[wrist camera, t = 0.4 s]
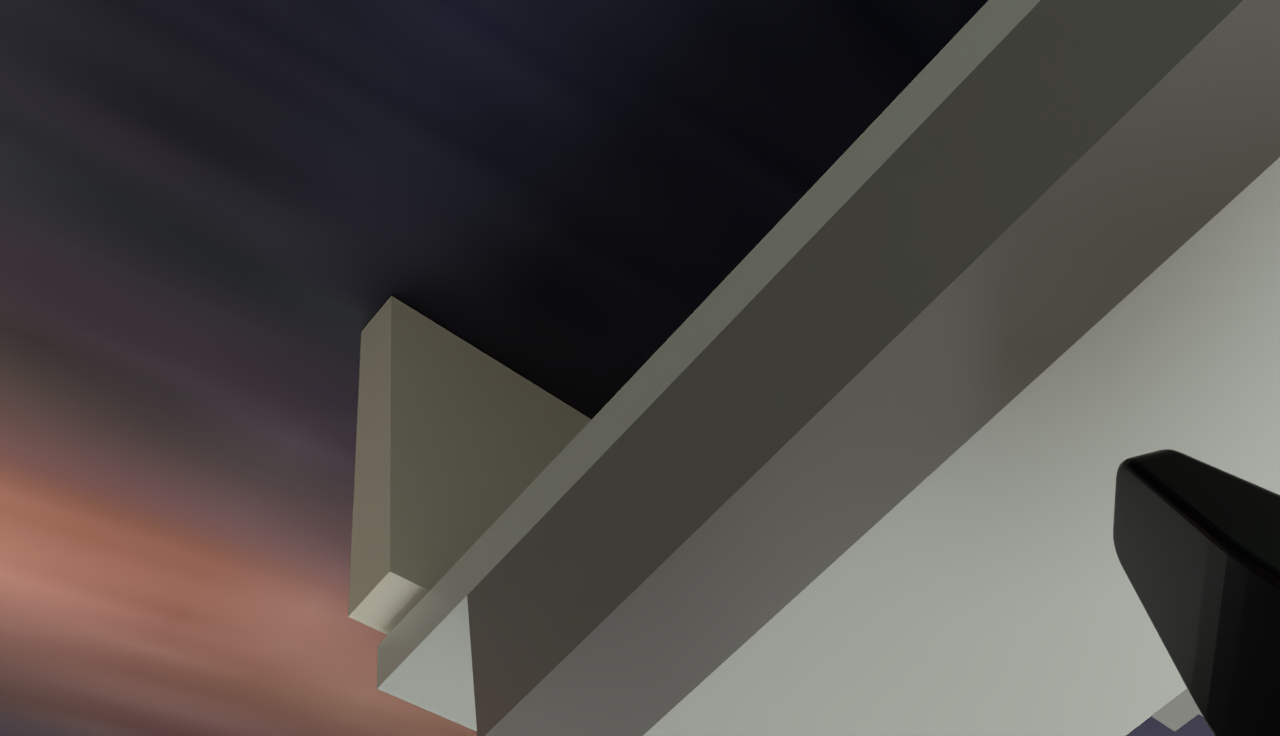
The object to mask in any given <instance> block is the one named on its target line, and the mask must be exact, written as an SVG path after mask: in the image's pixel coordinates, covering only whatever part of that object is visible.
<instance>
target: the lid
mask: <svg viewBox="0 0 1280 736" xmlns="http://www.w3.org/2000/svg"><path fill="white" fill-rule="evenodd" d="M1164 449H1171V450H1175V451H1178V452H1181V453H1183V454H1186V455H1188V456H1190V457H1193V458H1195V459H1197V460H1200V461H1202V462H1204V463H1207V464H1209V465H1211V466H1214V467H1216V468H1218V469H1221V470H1223V471H1225V472H1228V473H1230V474H1232V475H1235V476H1237V477H1239V478H1242V479H1244V480H1246V481H1249V482H1251V483H1253V484H1256V485H1258V486H1260V487H1262V488H1265V489H1267V490H1269V491H1272V492H1274V493H1276V494H1279V495H1280V0H988V1H987V2H986V3H985V5H984V6H983V7H982V8H981V9H980V10H979V11H978V12H977V13H976V14H975V15H974V16H973V17H972V18H971V19H970V20H969V21H968V22H967V24H966V25H965V26H964V27H963V28H962V29H961V30H960V31H959V32H958V33H957V34H956V35H955V36H954V37H953V38H952V39H951V40H950V42H949V43H948V44H947V45H946V46H945V47H944V48H943V49H942V50H941V51H940V52H939V53H938V54H937V55H936V56H935V57H934V58H933V59H932V61H931V62H930V63H929V64H928V65H927V66H926V67H925V68H924V69H923V70H922V71H921V72H920V73H919V74H918V75H917V76H916V77H915V78H914V80H913V81H912V82H911V83H910V84H909V85H908V86H907V87H906V88H905V89H904V90H903V91H902V92H901V93H900V94H899V95H898V96H897V98H896V99H895V100H894V101H893V102H892V103H891V104H890V105H889V106H888V107H887V108H886V109H885V110H884V111H883V112H882V113H881V114H880V115H879V117H878V118H877V119H876V120H875V121H874V122H873V123H872V124H871V125H870V126H869V127H868V128H867V129H866V130H865V131H864V132H863V133H862V134H861V136H860V137H859V138H858V139H857V140H856V141H855V142H854V143H853V144H852V145H851V146H850V147H849V148H848V149H847V150H846V151H845V152H844V154H843V155H842V156H841V157H840V158H839V159H838V160H837V161H836V162H835V163H834V164H833V165H832V166H831V167H830V168H829V169H828V170H827V171H826V173H825V174H824V175H823V176H822V177H821V178H820V179H819V180H818V181H817V182H816V183H815V184H814V185H813V186H812V187H811V188H810V189H809V190H808V192H807V193H806V194H805V195H804V196H803V197H802V198H801V199H800V200H799V201H798V202H797V203H796V204H795V205H794V206H793V207H792V208H791V210H790V211H789V212H788V213H787V214H786V215H785V216H784V217H783V218H782V219H781V220H780V221H779V222H778V223H777V224H776V225H775V226H774V227H773V229H772V230H771V231H770V232H769V233H768V234H767V235H766V236H765V237H764V238H763V239H762V240H761V241H760V242H759V243H758V244H757V245H756V247H755V248H754V249H753V250H752V251H751V252H750V253H749V254H748V255H747V256H746V257H745V258H744V259H743V260H742V261H741V262H740V263H739V264H738V266H737V267H736V268H735V269H734V270H733V271H732V272H731V273H730V274H729V275H728V276H727V277H726V278H725V279H724V280H723V281H722V282H721V283H720V285H719V286H718V287H717V288H716V289H715V290H714V291H713V292H712V293H711V294H710V295H709V296H708V297H707V298H706V299H705V300H704V301H703V303H702V304H701V305H700V306H699V307H698V308H697V309H696V310H695V311H694V312H693V313H692V314H691V315H690V316H689V317H688V318H687V319H686V320H685V322H684V323H683V324H682V325H681V326H680V327H679V328H678V329H677V330H676V331H675V332H674V333H673V334H672V335H671V336H670V337H669V338H668V339H667V341H666V342H665V343H664V344H663V345H662V346H661V347H660V348H659V349H658V350H657V351H656V352H655V353H654V354H653V355H652V356H651V357H650V359H649V360H648V361H647V362H646V363H645V364H644V365H643V366H642V367H641V368H640V369H639V370H638V371H637V372H636V373H635V374H634V375H633V376H632V378H631V379H630V380H629V381H628V382H627V383H626V384H625V385H624V386H623V387H622V388H621V389H620V390H619V391H618V392H617V393H616V394H615V395H614V397H613V398H612V399H611V400H610V401H609V402H608V403H607V404H606V405H605V406H604V407H603V408H602V409H601V410H600V411H599V412H598V413H597V415H596V416H595V417H594V418H593V419H592V420H591V421H590V422H589V423H588V424H587V425H586V426H585V427H584V428H583V429H582V430H581V431H580V432H579V434H578V435H577V436H576V437H575V438H574V439H573V440H572V441H571V442H570V443H569V444H568V445H567V446H566V447H565V448H564V449H563V450H562V451H561V453H560V454H559V455H558V456H557V457H556V458H555V459H554V460H553V461H552V462H551V463H550V464H549V465H548V466H547V467H546V468H545V469H544V471H543V472H542V473H541V474H540V475H539V476H538V477H537V478H536V479H535V480H534V481H533V482H532V483H531V484H530V485H529V486H528V487H527V488H526V490H525V491H524V492H523V493H522V494H521V495H520V496H519V497H518V498H517V499H516V500H515V501H514V502H513V503H512V504H511V505H510V506H509V507H508V509H507V510H506V511H505V512H504V513H503V514H502V515H501V516H500V517H499V518H498V519H497V520H496V521H495V522H494V523H493V524H492V525H491V527H490V528H489V529H488V530H487V531H486V532H485V533H484V534H483V535H482V536H481V537H480V538H479V539H478V540H477V541H476V542H475V543H474V544H473V546H472V547H471V548H470V549H469V550H468V551H467V552H466V553H465V554H464V555H463V556H462V557H461V558H460V559H459V560H458V561H457V562H456V563H455V565H454V566H453V567H452V568H451V569H450V570H449V571H448V572H447V573H446V574H445V575H444V576H443V577H442V578H441V579H440V580H439V581H438V583H437V584H436V585H435V586H434V587H433V588H432V589H431V590H430V591H429V592H428V593H427V594H426V595H425V596H424V597H423V598H422V599H421V600H420V602H419V603H418V604H417V605H416V606H415V607H414V608H413V609H412V610H411V611H410V612H409V613H408V614H407V615H406V616H405V617H404V618H403V620H402V621H401V622H400V623H399V624H398V625H397V626H396V627H395V628H394V629H393V630H392V631H391V632H390V633H389V634H388V635H387V636H386V637H385V639H384V640H383V641H382V642H381V643H380V644H379V645H378V660H377V689H379V690H381V691H383V692H386V693H388V694H390V695H393V696H395V697H397V698H400V699H402V700H404V701H407V702H409V703H411V704H414V705H416V706H418V707H421V708H423V709H425V710H428V711H430V712H432V713H435V714H437V715H439V716H442V717H444V718H446V719H449V720H451V721H453V722H456V723H458V724H460V725H463V726H465V727H467V728H470V729H472V730H474V731H477V736H1125V735H1126V734H1128V733H1129V732H1130V731H1132V730H1133V729H1134V728H1136V727H1137V726H1138V725H1140V724H1141V723H1142V722H1144V721H1145V720H1146V719H1148V718H1149V717H1150V716H1151V715H1153V714H1154V713H1155V712H1157V711H1158V710H1159V709H1161V708H1162V707H1163V706H1165V705H1166V704H1167V703H1169V702H1170V701H1171V700H1172V699H1174V698H1175V697H1176V696H1178V695H1179V694H1180V693H1182V692H1183V691H1184V690H1186V689H1187V687H1186V685H1185V683H1184V682H1183V680H1182V678H1181V676H1180V674H1179V672H1178V670H1177V668H1176V667H1175V665H1174V663H1173V661H1172V659H1171V657H1170V655H1169V654H1168V652H1167V650H1166V648H1165V646H1164V644H1163V642H1162V640H1161V639H1160V637H1159V635H1158V633H1157V631H1156V629H1155V627H1154V625H1153V624H1152V622H1151V620H1150V618H1149V616H1148V614H1147V612H1146V611H1145V609H1144V607H1143V605H1142V603H1141V601H1140V599H1139V597H1138V596H1137V594H1136V592H1135V590H1134V588H1133V586H1132V584H1131V582H1130V581H1129V579H1128V577H1127V575H1126V573H1125V571H1124V569H1123V567H1122V566H1121V563H1120V561H1119V559H1118V556H1117V554H1116V550H1115V546H1114V541H1113V521H1114V504H1115V486H1116V474H1117V469H1118V467H1119V465H1120V464H1121V463H1122V462H1123V461H1124V460H1126V459H1128V458H1131V457H1135V456H1139V455H1143V454H1146V453H1150V452H1154V451H1158V450H1164Z"/></svg>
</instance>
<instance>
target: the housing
mask: <svg viewBox="0 0 1280 736" xmlns="http://www.w3.org/2000/svg"><path fill="white" fill-rule="evenodd" d="M591 420H592V419H590V418H588V417H587V416H585V415H584V414H582V413H580V412H579V411H577V410H575V409H574V408H572V407H571V406H569V405H567V404H566V403H564V402H563V401H561V400H559V399H558V398H556V397H554V396H553V395H551V394H550V393H548V392H546V391H545V390H543V389H542V388H540V387H538V386H537V385H535V384H533V383H532V382H530V381H529V380H527V379H525V378H524V377H522V376H520V375H519V374H517V373H516V372H514V371H512V370H511V369H509V368H508V367H506V366H504V365H503V364H501V363H499V362H498V361H496V360H495V359H493V358H491V357H490V356H488V355H487V354H485V353H483V352H482V351H480V350H478V349H477V348H475V347H474V346H472V345H470V344H469V343H467V342H466V341H464V340H462V339H461V338H459V337H457V336H456V335H454V334H453V333H451V332H449V331H448V330H446V329H444V328H443V327H441V326H440V325H438V324H436V323H435V322H433V321H432V320H430V319H428V318H427V317H425V316H423V315H422V314H420V313H419V312H417V311H415V310H414V309H412V308H411V307H409V306H407V305H406V304H404V303H402V302H401V301H399V300H398V299H396V298H394V297H393V296H391V297H390V298H389V299H388V300H387V301H386V303H385V304H384V305H383V306H382V307H381V309H380V310H379V311H378V312H377V314H376V315H375V316H374V317H373V318H372V320H371V321H370V322H369V323H368V324H367V326H366V327H365V328H364V329H363V330H362V332H361V350H360V372H359V393H358V415H357V436H356V458H355V480H354V501H353V523H352V544H351V566H350V588H349V609H348V617H350V618H352V619H354V620H356V621H359V622H361V623H363V624H365V625H367V626H370V627H372V628H374V629H376V630H378V631H380V632H383V633H385V634H387V635H388V634H389V633H390V632H391V631H392V630H393V629H394V628H395V627H396V626H397V625H398V624H399V623H400V622H401V621H402V620H403V618H404V617H405V616H406V615H407V614H408V613H409V612H410V611H411V610H412V609H413V608H414V607H415V606H416V605H417V604H418V603H419V602H420V600H421V599H422V598H423V597H424V596H425V595H426V594H427V593H428V592H429V591H430V590H431V589H432V588H433V587H434V586H435V585H436V584H437V583H438V581H439V580H440V579H441V578H442V577H443V576H444V575H445V574H446V573H447V572H448V571H449V570H450V569H451V568H452V567H453V566H454V565H455V563H456V562H457V561H458V560H459V559H460V558H461V557H462V556H463V555H464V554H465V553H466V552H467V551H468V550H469V549H470V548H471V547H472V546H473V544H474V543H475V542H476V541H477V540H478V539H479V538H480V537H481V536H482V535H483V534H484V533H485V532H486V531H487V530H488V529H489V528H490V527H491V525H492V524H493V523H494V522H495V521H496V520H497V519H498V518H499V517H500V516H501V515H502V514H503V513H504V512H505V511H506V510H507V509H508V507H509V506H510V505H511V504H512V503H513V502H514V501H515V500H516V499H517V498H518V497H519V496H520V495H521V494H522V493H523V492H524V491H525V490H526V488H527V487H528V486H529V485H530V484H531V483H532V482H533V481H534V480H535V479H536V478H537V477H538V476H539V475H540V474H541V473H542V472H543V471H544V469H545V468H546V467H547V466H548V465H549V464H550V463H551V462H552V461H553V460H554V459H555V458H556V457H557V456H558V455H559V454H560V453H561V451H562V450H563V449H564V448H565V447H566V446H567V445H568V444H569V443H570V442H571V441H572V440H573V439H574V438H575V437H576V436H577V435H578V434H579V432H580V431H581V430H582V429H583V428H584V427H585V426H586V425H587V424H588V423H589V422H590V421H591ZM1198 714H1200V715H1201V716H1202V714H1201V712H1200V710H1199V709H1198V707H1197V705H1196V703H1195V702H1194V700H1193V698H1192V696H1191V695H1190V693H1189V691H1188V689H1186V690H1184V691H1183V692H1182V693H1180V694H1179V695H1178V696H1176V697H1175V698H1174V699H1172V700H1171V701H1170V702H1169V703H1167V704H1166V705H1165V706H1163V707H1162V708H1161V709H1159V710H1158V711H1157V712H1155V713H1154V714H1153V715H1151V716H1152V717H1153V718H1155V719H1156V720H1158V721H1160V722H1161V723H1163V724H1164V725H1166V726H1167V727H1169V728H1170V729H1172V730H1173V731H1176V730H1178V729H1179V728H1180V727H1182V726H1183V725H1184V724H1186V723H1187V722H1188V721H1190V720H1191V719H1192V718H1194V717H1195V716H1196V715H1198ZM1146 720H1147V719H1146ZM1142 723H1143V722H1142ZM1138 726H1139V725H1138ZM1134 729H1135V728H1134ZM1130 732H1131V731H1130ZM1126 735H1127V734H1126ZM1126 735H1125V736H1126Z"/></svg>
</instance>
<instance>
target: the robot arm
mask: <svg viewBox="0 0 1280 736" xmlns="http://www.w3.org/2000/svg"><path fill="white" fill-rule="evenodd" d="M1113 541H1114V546H1115V550H1116V554H1117V556H1118V559H1119V561H1120V563H1121V566H1122V567H1123V569H1124V571H1125V573H1126V575H1127V577H1128V579H1129V581H1130V582H1131V584H1132V586H1133V588H1134V590H1135V592H1136V594H1137V596H1138V597H1139V599H1140V601H1141V603H1142V605H1143V607H1144V609H1145V611H1146V612H1147V614H1148V616H1149V618H1150V620H1151V622H1152V624H1153V625H1154V627H1155V629H1156V631H1157V633H1158V635H1159V637H1160V639H1161V640H1162V642H1163V644H1164V646H1165V648H1166V650H1167V652H1168V654H1169V655H1170V657H1171V659H1172V661H1173V663H1174V665H1175V667H1176V668H1177V670H1178V672H1179V674H1180V676H1181V678H1182V680H1183V682H1184V683H1185V685H1186V687H1187V689H1188V691H1189V693H1190V695H1191V696H1192V698H1193V700H1194V702H1195V703H1196V705H1197V707H1198V709H1199V710H1200V712H1201V714H1202V716H1203V718H1204V719H1205V721H1206V723H1207V724H1208V726H1209V727H1210V729H1211V730H1212V732H1213V733H1214V735H1215V736H1280V495H1279V494H1276V493H1274V492H1272V491H1269V490H1267V489H1265V488H1262V487H1260V486H1258V485H1256V484H1253V483H1251V482H1249V481H1246V480H1244V479H1242V478H1239V477H1237V476H1235V475H1232V474H1230V473H1228V472H1225V471H1223V470H1221V469H1218V468H1216V467H1214V466H1211V465H1209V464H1207V463H1204V462H1202V461H1200V460H1197V459H1195V458H1193V457H1190V456H1188V455H1186V454H1183V453H1181V452H1178V451H1175V450H1171V449H1164V450H1158V451H1154V452H1150V453H1146V454H1143V455H1139V456H1135V457H1131V458H1128V459H1126V460H1124V461H1123V462H1122V463H1121V464H1120V465H1119V467H1118V469H1117V474H1116V486H1115V504H1114V521H1113Z"/></svg>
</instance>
